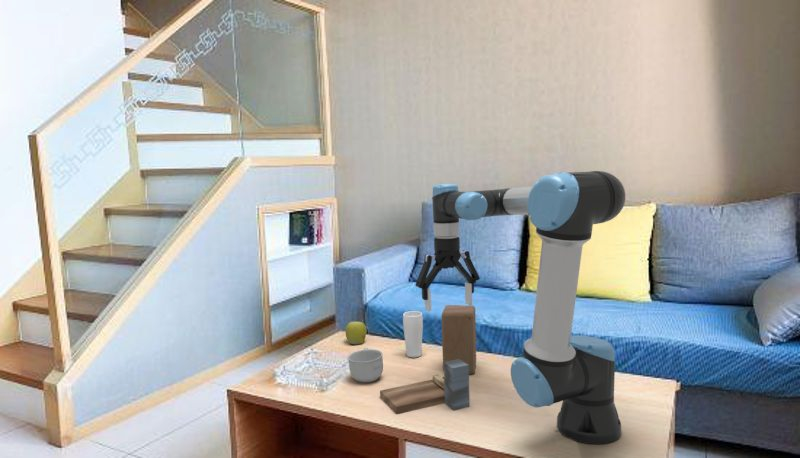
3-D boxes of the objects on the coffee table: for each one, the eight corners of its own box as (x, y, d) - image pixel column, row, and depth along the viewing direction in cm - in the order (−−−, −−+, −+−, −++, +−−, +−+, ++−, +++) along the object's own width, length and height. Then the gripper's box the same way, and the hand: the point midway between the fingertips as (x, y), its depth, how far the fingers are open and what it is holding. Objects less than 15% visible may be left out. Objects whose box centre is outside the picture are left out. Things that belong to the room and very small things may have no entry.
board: (467, 397, 160) (467, 390, 160) (396, 414, 151) (396, 406, 151) (447, 382, 171) (447, 375, 171) (380, 397, 162) (379, 390, 162)
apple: (358, 345, 204) (351, 318, 205) (344, 347, 210) (338, 321, 210) (373, 340, 210) (367, 313, 211) (360, 342, 215) (354, 316, 216)
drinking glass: (414, 350, 200) (413, 309, 198) (427, 355, 194) (426, 313, 192) (400, 355, 195) (398, 313, 193) (413, 360, 190) (411, 317, 188)
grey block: (469, 406, 154) (468, 364, 153) (453, 410, 152) (452, 368, 151) (442, 386, 168) (441, 347, 167) (427, 389, 166) (426, 350, 165)
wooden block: (474, 375, 176) (473, 313, 173) (442, 373, 178) (441, 312, 175) (476, 363, 186) (475, 304, 183) (446, 362, 188) (444, 304, 185)
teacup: (380, 386, 170) (378, 361, 169) (345, 385, 172) (343, 360, 171) (388, 369, 183) (387, 345, 182) (355, 368, 185) (354, 344, 184)
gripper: (477, 231, 173) (478, 299, 175) (402, 239, 163) (405, 310, 166) (490, 234, 166) (491, 304, 168) (413, 242, 156) (415, 316, 159)
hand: (448, 307), depth 167 cm, fingers open, 13 cm apart
